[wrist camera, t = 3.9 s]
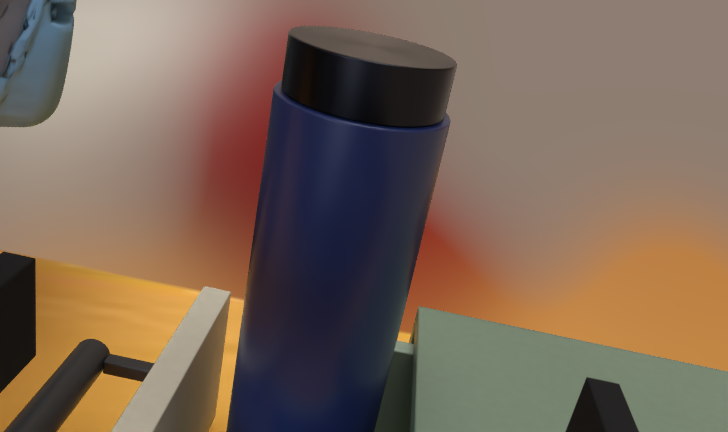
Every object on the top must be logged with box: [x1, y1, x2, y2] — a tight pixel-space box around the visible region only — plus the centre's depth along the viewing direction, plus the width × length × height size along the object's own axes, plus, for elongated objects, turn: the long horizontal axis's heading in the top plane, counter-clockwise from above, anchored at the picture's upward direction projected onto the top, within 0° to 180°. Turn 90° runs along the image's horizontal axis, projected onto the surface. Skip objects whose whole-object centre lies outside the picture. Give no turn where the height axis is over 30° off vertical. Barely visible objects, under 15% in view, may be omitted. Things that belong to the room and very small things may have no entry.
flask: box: [227, 26, 457, 432], centre depth 23 cm, size 5×5×18 cm
